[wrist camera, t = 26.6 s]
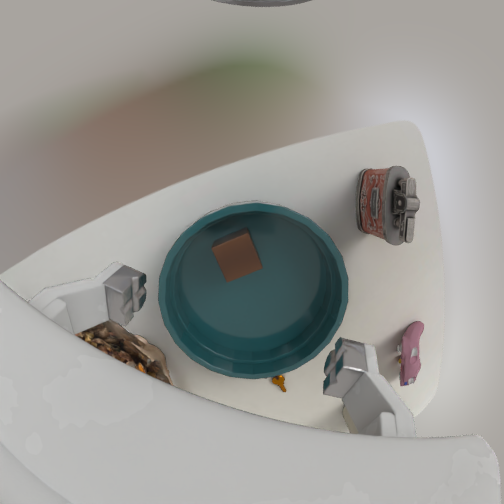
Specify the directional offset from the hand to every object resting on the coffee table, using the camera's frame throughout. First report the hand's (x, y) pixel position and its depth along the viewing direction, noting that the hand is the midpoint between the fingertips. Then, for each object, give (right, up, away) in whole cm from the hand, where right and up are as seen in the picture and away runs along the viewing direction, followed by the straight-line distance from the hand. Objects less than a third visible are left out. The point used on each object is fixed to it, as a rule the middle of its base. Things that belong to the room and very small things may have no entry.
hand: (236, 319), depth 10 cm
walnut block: (-1, +3, +21) cm, 21 cm away
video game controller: (+25, -13, +27) cm, 39 cm away
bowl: (+1, -2, +23) cm, 23 cm away
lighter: (+15, +9, +21) cm, 27 cm away
